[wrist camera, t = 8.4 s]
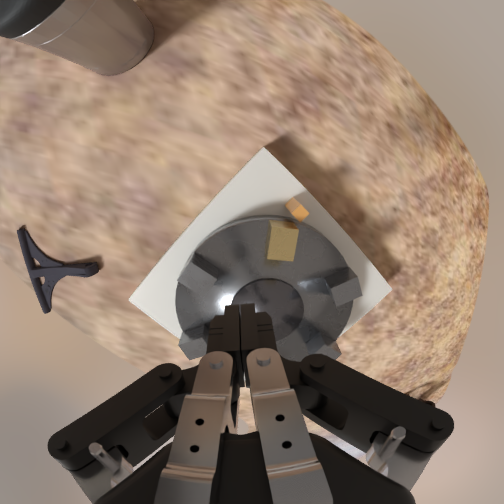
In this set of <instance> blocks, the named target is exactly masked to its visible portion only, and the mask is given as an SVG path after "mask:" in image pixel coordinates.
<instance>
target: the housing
mask: <svg viewBox="0 0 504 504" xmlns="http://www.w3.org/2000/svg"><path fill="white" fill-rule="evenodd" d="M254 215H280V216H285V217H290V218H293V219H296V220H298V221H299V222H301V221H302V222H304V223H306V224H308V225H310V226H312V227H314V228H315V229H316V230H318V231H319V232H321V233H322V234H323V235H324V236H325V237H326V238H327V239H328V240H329V241H330V242H331V243H332V244H333V245H334V246H335V247H336V248H337V249H338V251H339V252H340V253H341V255H342V256H343V257H344V259H345V261H346V263H347V265H348V267H350V268H351V269H352V270H353V272H354V273H355V274H356V275H357V276H358V279H359V283H360V287H361V291H362V295H363V296H360V297H358V298H356V299H354V300H353V307H352V311H351V315H350V317H349V320H348V322H347V324H346V326H345V328H344V330H343V331H342V333H341V334H340V336H341V335H342V334H343V333H344V332H346V331H347V330H348V329H349V328H350V327H352V326H353V325H354V324H355V323H356V322H357V321H359V320H360V319H361V318H362V317H363V316H364V315H365V314H366V313H368V312H369V311H370V310H371V309H372V308H373V307H374V306H375V305H376V304H377V303H379V302H380V301H381V300H382V299H383V298H384V297H385V296H386V295H387V294H388V293H389V292H390V291H391V290H392V288H391V287H390V286H389V284H388V283H387V282H386V280H385V279H384V278H383V277H382V275H381V274H380V273H379V272H378V270H377V269H376V268H375V267H374V265H373V264H372V263H371V262H370V260H369V259H368V258H367V257H366V256H365V254H364V253H363V252H362V251H361V250H360V248H359V247H358V246H357V245H356V244H355V242H354V241H353V240H352V239H351V238H350V237H349V235H348V234H347V233H346V232H345V231H344V230H343V229H342V227H341V226H340V225H339V224H338V223H337V222H336V221H335V220H334V218H333V217H332V216H331V215H330V214H329V213H328V212H327V211H326V210H325V209H324V207H323V206H322V205H321V204H320V203H319V202H318V201H317V200H316V199H315V198H314V197H313V196H312V195H311V194H310V193H309V191H308V190H307V189H306V188H305V187H304V186H303V185H302V184H301V183H300V182H299V181H298V180H297V179H296V178H295V177H294V176H293V175H292V174H291V173H290V172H289V171H288V170H287V169H286V168H285V167H284V166H283V165H282V164H281V163H280V162H279V161H278V160H277V159H276V158H275V157H274V156H273V155H272V154H271V153H270V152H269V151H268V150H266V149H265V148H264V147H262V148H261V149H260V150H259V151H258V152H257V153H256V154H255V155H254V156H253V157H252V158H251V159H250V160H249V161H248V162H247V163H246V164H245V165H244V166H243V167H242V168H241V169H240V170H239V171H238V172H237V173H236V174H235V175H234V176H233V177H232V178H231V179H230V181H229V182H228V183H227V184H226V185H225V186H224V187H223V188H222V189H221V190H220V191H219V192H218V193H217V194H216V195H215V197H214V198H213V199H212V200H211V201H210V202H209V203H208V204H207V205H206V206H205V208H204V209H203V210H202V211H201V212H200V213H199V214H198V215H197V216H196V218H195V219H194V220H193V221H192V222H191V223H190V224H189V225H188V227H187V228H186V229H185V230H184V231H183V232H182V234H181V235H180V236H179V237H178V238H177V239H176V240H175V242H174V243H173V244H172V245H171V246H170V248H169V249H168V250H167V251H166V252H165V253H164V255H163V256H162V257H161V258H160V259H159V261H158V262H157V263H156V264H155V266H154V267H153V268H152V269H151V270H150V272H149V273H148V274H147V275H146V277H145V278H144V279H143V280H142V282H141V283H140V284H139V285H138V287H137V288H136V289H135V291H134V292H133V294H132V295H131V297H130V298H129V301H130V302H131V303H133V304H134V305H135V306H136V307H138V308H139V309H140V310H142V311H143V312H144V313H145V314H147V315H148V316H149V317H151V318H152V319H153V320H154V321H156V322H157V323H158V324H160V325H161V326H162V327H164V328H165V329H167V330H168V331H169V332H171V333H172V334H173V335H175V336H176V337H178V338H179V339H180V338H181V334H182V332H183V331H182V329H181V326H180V324H179V322H178V318H177V314H176V306H175V296H176V288H177V284H178V281H177V279H178V277H179V275H180V273H181V271H182V269H183V267H184V266H185V264H186V262H187V260H188V258H189V256H190V255H191V253H192V252H193V250H194V249H195V248H196V247H197V245H198V244H199V243H200V242H201V241H202V240H203V239H204V238H205V237H206V236H207V235H209V234H210V233H212V232H213V231H214V230H216V229H217V228H219V227H221V226H223V225H225V224H227V223H229V222H232V221H234V220H237V219H240V218H244V217H249V216H254ZM340 336H339V337H340ZM244 381H245V374H244Z"/></svg>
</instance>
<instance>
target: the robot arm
mask: <svg viewBox="0 0 504 504" xmlns="http://www.w3.org/2000/svg"><path fill="white" fill-rule="evenodd" d="M0 36H2V37H5V38H9V39H12V40H15V41H18V42H21V43H24V44H27V45H31V46H33V47H36V48H39V49H41V50H44V51H47V52H49V53H52V54H55V55H57V56H60V57H62V58H64V59H67V60H69V61H72V62H74V63H76V64H79V65H81V66H83V67H85V68H87V69H90V70H92V71H94V72H96V73H99V74H101V75H106V76H111V75H117V74H120V73H123V72H125V71H127V70H129V69H131V68H132V67H134V66H135V65H136V64H137V63H139V62H140V61H141V60H142V59H143V57H144V56H145V55H146V54H147V52H148V51H149V49H150V47H151V45H152V42H153V38H154V29H153V26H152V24H151V22H150V21H149V20H148V18H147V17H146V16H145V15H144V13H143V12H142V10H141V9H140V8H139V7H138V5H137V4H136V3H135V2H134V0H0ZM240 311H241V314H240ZM244 374H245V382H246V387H250V393H251V401H252V407H253V413H254V419H255V425H256V431H255V432H252V433H248V434H244V435H238V434H237V426H238V414H239V402H240V401H239V396H240V387H245V382H244ZM159 406H160V407H159ZM158 407H159V408H158ZM157 408H158V409H157ZM155 409H156V410H155ZM154 410H155V411H154ZM153 411H154V412H153ZM150 413H151V414H150ZM149 414H150V415H149ZM302 414H303V415H304V416H306V417H307V418H309V419H311V420H312V421H314V422H315V423H317V424H318V425H320V426H321V427H323V428H324V429H326V430H328V431H329V432H331V433H333V434H334V435H336V436H337V437H339V438H341V439H342V440H344V441H346V442H348V443H349V444H351V445H353V446H354V447H356V448H358V449H360V450H362V451H363V452H365V453H367V454H366V461H367V463H368V465H369V466H370V467H369V466H367V465H365V464H364V463H362V462H360V461H359V460H357V459H356V458H354V457H352V456H351V455H349V454H348V453H346V452H345V451H343V450H342V449H340V448H339V447H337V446H335V445H334V444H333V443H331V442H330V441H328V440H326V439H325V438H323V437H321V436H318V435H316V434H312V433H309V432H308V430H307V427H306V424H305V421H304V418H303V415H302ZM146 416H147V417H146ZM145 417H146V418H145ZM453 429H454V421H453V419H452V417H451V416H450V415H449V414H448V413H447V412H445V411H443V410H440V409H438V408H435V407H433V406H431V405H428V404H426V403H424V402H422V401H419V400H417V399H415V398H413V397H410V396H408V395H406V394H404V393H402V392H399V391H397V390H395V389H393V388H391V387H389V386H386V385H384V384H382V383H380V382H378V381H376V380H374V379H372V378H370V377H368V376H366V375H364V374H362V373H360V372H358V371H356V370H354V369H352V368H350V367H348V366H346V365H344V364H342V363H340V362H338V361H336V360H334V359H332V358H330V357H328V356H326V355H323V354H311V355H308V356H306V357H304V358H303V359H302V361H301V362H299V361H291V360H288V359H285V358H283V357H282V356H281V355H280V354H279V353H278V350H277V345H276V340H275V335H274V330H273V325H272V319H271V316H270V315H269V314H268V313H267V312H256V311H255V303H246V304H240V305H239V304H234V305H225V310H224V315H215V316H214V318H213V319H212V320H211V321H210V328H209V335H208V342H207V350H206V355H204V356H203V357H202V358H201V360H200V363H199V365H197V366H195V367H192V368H189V369H185V370H181V368H180V367H179V366H177V365H175V364H172V363H165V364H161V365H158V366H157V367H155V368H154V369H152V370H151V371H149V372H148V373H146V374H145V375H144V376H142V377H141V378H139V379H138V380H136V381H135V382H133V383H132V384H130V385H129V386H127V387H126V388H125V389H123V390H122V391H120V392H119V393H117V394H116V395H114V396H113V397H111V398H110V399H108V400H107V401H105V402H104V403H102V404H100V405H99V406H97V407H96V408H94V409H93V410H91V411H90V412H88V413H87V414H85V415H83V416H82V417H80V418H79V419H77V420H76V421H74V422H72V423H71V424H70V425H68V426H66V427H64V428H63V429H61V430H60V431H58V432H56V433H55V434H53V435H52V436H51V438H50V439H49V442H48V451H49V453H50V454H51V456H53V458H54V459H56V460H57V461H58V462H59V463H60V464H61V465H62V466H63V467H64V468H65V469H66V470H67V471H69V472H70V473H71V474H72V476H73V477H74V479H75V480H76V482H77V483H78V485H79V486H80V487H81V489H82V490H83V492H84V493H85V494H86V496H87V497H88V498H89V500H90V501H91V502H92V503H93V504H416V503H415V500H414V497H413V495H412V494H411V492H410V490H411V489H412V487H413V486H414V484H415V483H416V481H417V480H418V478H419V477H420V475H421V473H422V472H423V470H424V468H425V466H426V465H427V463H428V461H429V460H430V458H431V456H432V455H433V454H434V453H435V452H436V451H437V450H438V449H439V448H440V446H441V445H442V444H443V443H444V442H445V441H446V440H447V438H448V437H449V436H450V435H451V433H452V431H453ZM174 435H175V436H174ZM173 436H174V440H173V442H171V443H169V444H167V445H166V446H164V447H163V448H162V449H161V450H159V451H158V452H157V453H156V454H155V455H154V456H152V457H151V458H150V459H149V460H148V461H146V462H145V463H144V464H143V465H141V466H140V467H139V468H138V469H137V470H135V471H134V472H133V467H134V466H136V465H137V464H138V463H140V462H141V461H142V460H144V459H145V458H146V457H147V456H149V455H150V454H152V453H153V452H154V451H155V450H157V449H158V448H159V447H160V446H162V445H163V444H164V443H165V442H167V441H168V440H169V439H170V438H171V437H173ZM372 468H373V469H372Z"/></svg>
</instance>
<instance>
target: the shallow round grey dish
mask: <svg viewBox="0 0 504 504" xmlns="http://www.w3.org/2000/svg"><path fill="white" fill-rule="evenodd" d="M177 281H178V284H177V288H176V296H175V306H176V314H177V318H178V322H179V324H180V326H181V329H182V331H183V332H182V334H181V338H180V341H179V347H180V348H181V350H182V351H183V352H184V354H185V355H186V356H187V358H188V359H189V360H192V359H195V358H198V357H202V356H204V355H206V350H207V342H208V335H209V328H210V321H211V320H212V319H213V318H214V316H215V315H224V310H225V305H234V304H239V305H240V304H246V303H255V311H256V312H267V313H268V314H269V315H270V316H271V319H272V325H273V330H274V335H275V340H276V345H277V350H278V353H279V354H280V355H281V356H282V357H283V358H285V359H288V360H291V361H299V362H301V361H302V359H303V358H304V357H306V356H308V355H311V354H323V355H326V356H328V357H330V358H332V359H334V360H336V359H337V358H338V357H339V356H340V355H341V351H340V349H339V347H338V345H337V343H336V340H337V338H338V337H339V336H340V334H341V333H342V331H343V330H344V328H345V326H346V324H347V322H348V320H349V317H350V315H351V311H352V307H353V300H354V299H356V298H358V297H360V296H363V295H362V291H361V287H360V283H359V279H358V276H357V275H356V274H355V273H354V272H353V270H352V269H351V268H350V267H348V265H347V263H346V261H345V259H344V257H343V256H342V255H341V253H340V252H339V251H338V249H337V248H336V247H335V246H334V245H333V244H332V243H331V242H330V241H329V240H328V239H327V238H326V237H325V236H324V235H323V234H322V233H321V232H319V231H318V230H316V229H315V228H314V227H312V226H310V225H308V224H306V223H304V222H302V221H301V222H299V221H298V220H296V219H293V218H290V217H285V216H280V215H254V216H249V217H244V218H240V219H237V220H234V221H232V222H229V223H227V224H225V225H223V226H221V227H219V228H217V229H216V230H214V231H213V232H212V233H210V234H209V235H207V236H206V237H205V238H204V239H203V240H202V241H201V242H200V243H199V244H198V245H197V247H196V248H195V249H194V250H193V252H192V253H191V255H190V256H189V258H188V260H187V262H186V264H185V266H184V267H183V269H182V271H181V273H180V275H179V277H178V279H177ZM240 314H241V311H240ZM247 388H250V387H247Z"/></svg>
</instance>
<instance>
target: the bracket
mask: <svg viewBox="0 0 504 504" xmlns="http://www.w3.org/2000/svg"><path fill="white" fill-rule="evenodd" d="M17 234H18V238H19V242H20V246H21V249H22V253H23V256H24V260H25V263H26V266H27V269H28V272H29V275H30V278H31V281H32V284H33V287H34V290H35V292H36V295H37V298H38V300H39V303H40V305H41V307H42V310H43V312H44V313H45V314H46V313H48V312H50V311H51V295H52V291H53V288H54V285H55V284H56V283H57V282H58V280H60V279H61V278H63V277H65V276H66V275H69V276H80V277H90V276H93V275H95V274H96V273H98V272H99V270H98V266H97V262H93V263H82V264H71V265H63V263H60V262H56V261H54V260H52V259H50V258H48V257H47V256H45V255H44V254H43V253H42V252H41V251H40V250H39V249H38V247H37V246H36V245H35V244H34V242H33V241H32V239H31V237H30V236H29V234H28V232H27V231H25V228H24V229H21V230H20V229H19V230H17ZM33 258H35V259H36V260H37V261H38V262H39V263H40V265H41V267H35V265H34V262H33ZM43 276H44V277H45V283H44V285H41V283H40V280H39V277H43Z"/></svg>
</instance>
